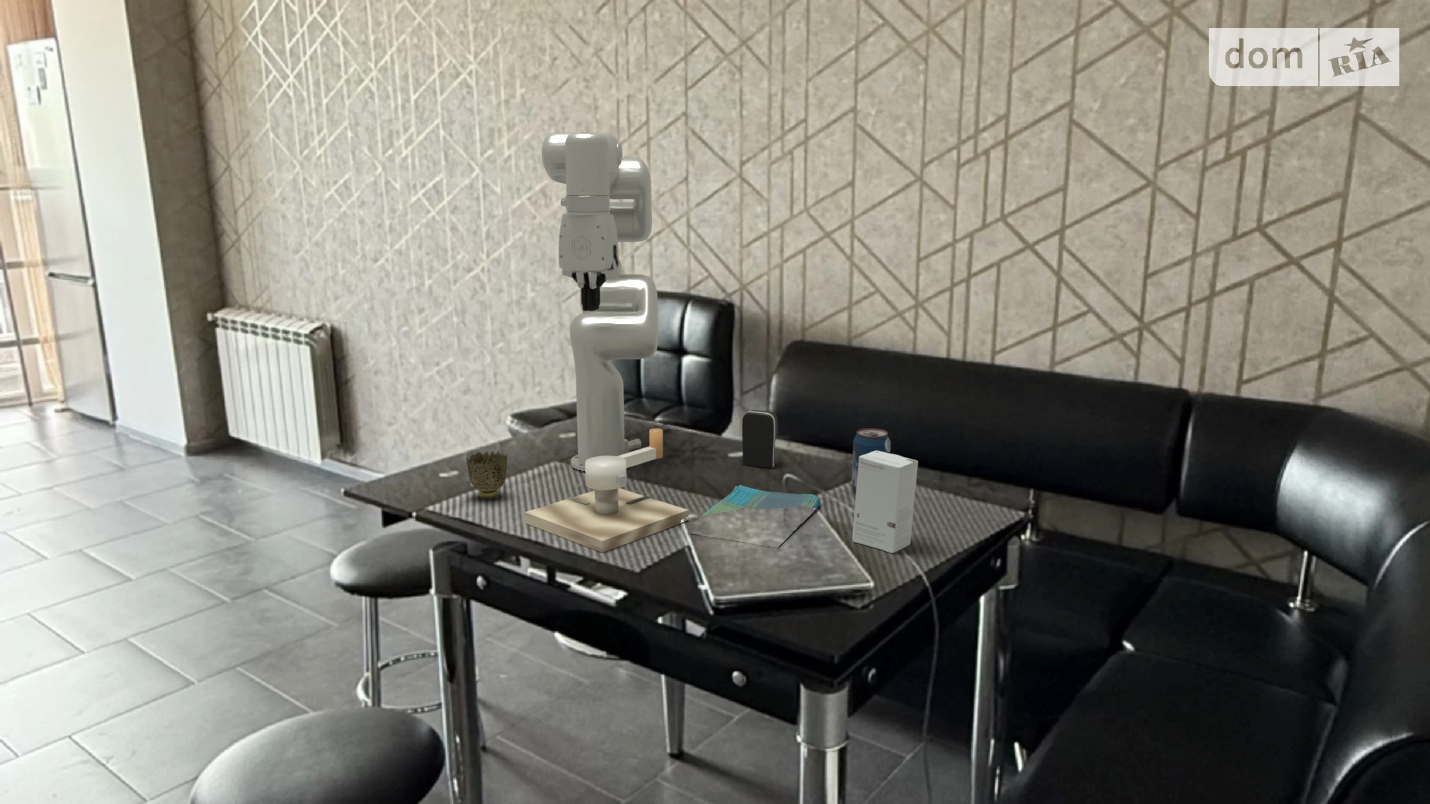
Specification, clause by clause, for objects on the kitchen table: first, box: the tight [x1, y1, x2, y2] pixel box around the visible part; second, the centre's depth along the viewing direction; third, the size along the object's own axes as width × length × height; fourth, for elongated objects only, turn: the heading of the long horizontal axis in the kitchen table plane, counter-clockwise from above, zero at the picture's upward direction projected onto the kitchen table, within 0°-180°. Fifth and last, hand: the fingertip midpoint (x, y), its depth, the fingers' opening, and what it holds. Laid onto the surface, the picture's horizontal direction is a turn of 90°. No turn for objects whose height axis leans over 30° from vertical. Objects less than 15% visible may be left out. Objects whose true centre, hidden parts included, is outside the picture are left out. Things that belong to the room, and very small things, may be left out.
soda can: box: [851, 427, 892, 495], centre depth 195 cm, size 7×7×12 cm
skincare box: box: [851, 451, 919, 554], centre depth 170 cm, size 8×6×15 cm
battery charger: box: [741, 409, 779, 469], centre depth 213 cm, size 7×4×11 cm, turn 66°
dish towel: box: [701, 484, 821, 516], centre depth 183 cm, size 17×23×2 cm
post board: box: [524, 488, 689, 553], centre depth 180 cm, size 20×20×7 cm
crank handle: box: [585, 427, 664, 490], centre depth 183 cm, size 9×17×7 cm, turn 139°
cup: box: [465, 450, 508, 500], centre depth 193 cm, size 8×7×8 cm
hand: (591, 309), depth 186 cm, fingers closed
